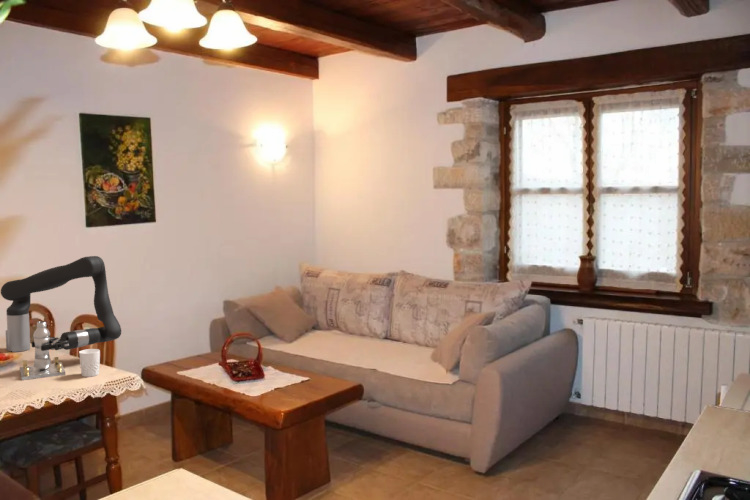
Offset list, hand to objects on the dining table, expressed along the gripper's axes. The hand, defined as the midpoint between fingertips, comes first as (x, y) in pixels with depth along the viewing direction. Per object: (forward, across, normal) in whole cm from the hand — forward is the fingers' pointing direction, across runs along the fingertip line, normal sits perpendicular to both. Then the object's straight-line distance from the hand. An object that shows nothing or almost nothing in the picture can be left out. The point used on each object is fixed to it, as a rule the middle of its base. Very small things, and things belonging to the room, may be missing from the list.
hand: (36, 346), depth 272 cm
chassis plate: (-2, 0, +11) cm, 12 cm away
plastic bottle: (-2, -1, +10) cm, 11 cm away
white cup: (-13, +18, +12) cm, 25 cm away
